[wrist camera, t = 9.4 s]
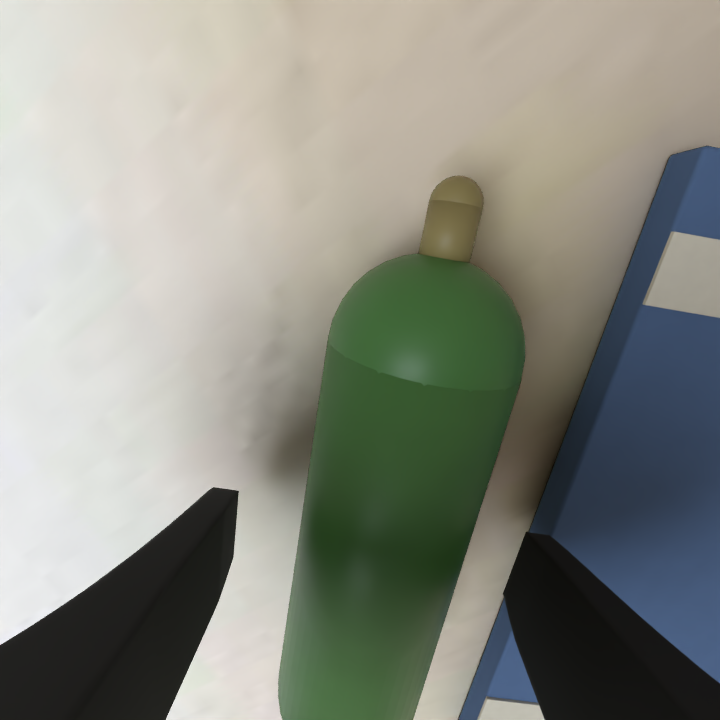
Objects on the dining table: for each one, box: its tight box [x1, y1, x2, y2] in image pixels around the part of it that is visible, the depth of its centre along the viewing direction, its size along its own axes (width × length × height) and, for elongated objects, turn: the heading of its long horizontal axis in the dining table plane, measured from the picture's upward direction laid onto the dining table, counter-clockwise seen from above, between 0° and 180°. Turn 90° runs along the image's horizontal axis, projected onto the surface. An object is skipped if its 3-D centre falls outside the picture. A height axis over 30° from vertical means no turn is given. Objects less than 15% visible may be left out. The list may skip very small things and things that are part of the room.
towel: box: [459, 146, 720, 720], centre depth 11 cm, size 11×20×1 cm, turn 171°
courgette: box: [278, 176, 525, 720], centre depth 9 cm, size 15×4×4 cm, turn 170°
